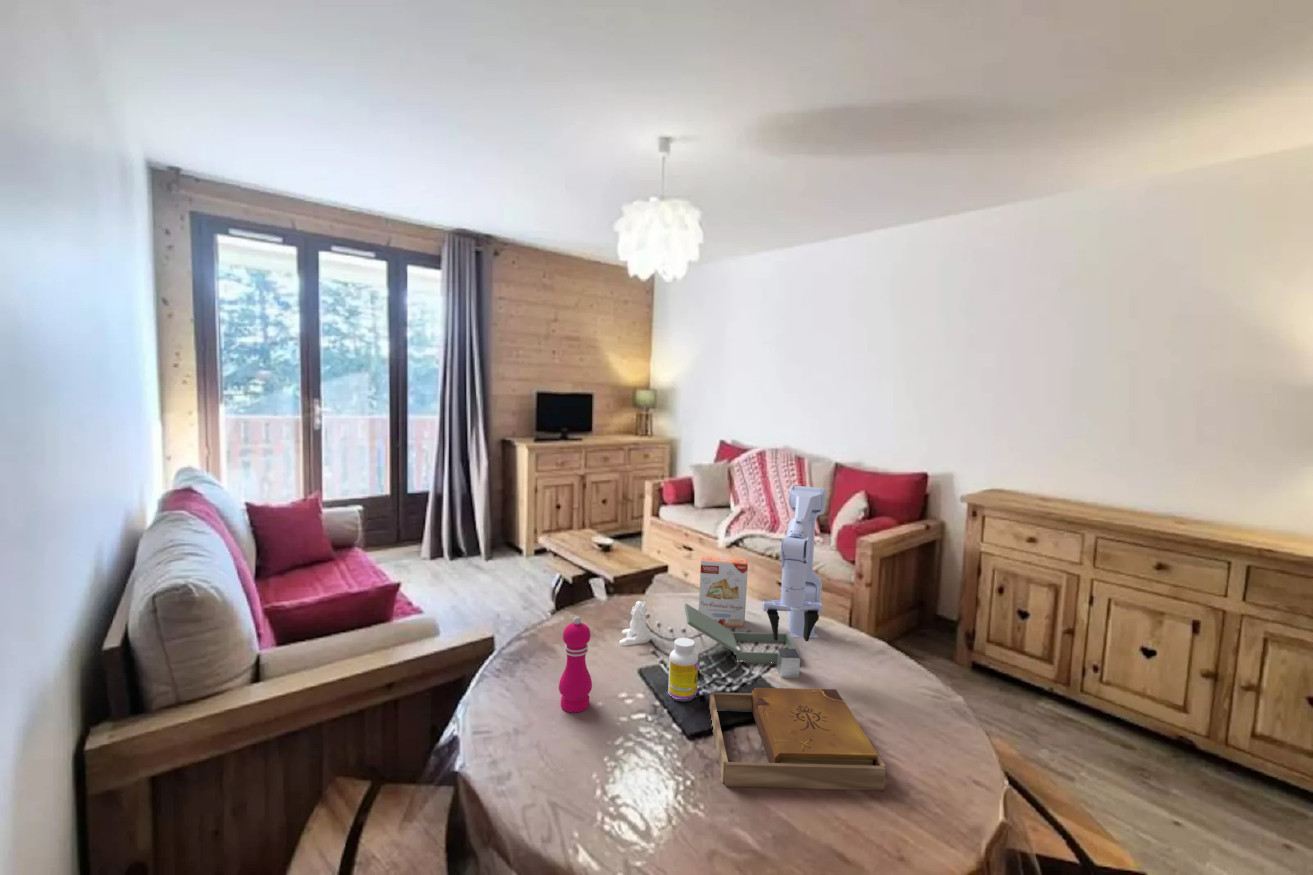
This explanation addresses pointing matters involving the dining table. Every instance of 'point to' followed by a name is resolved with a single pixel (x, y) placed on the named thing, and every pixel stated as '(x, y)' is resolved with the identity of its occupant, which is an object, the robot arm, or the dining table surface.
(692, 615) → the case
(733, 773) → the desk tray
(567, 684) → the pepper mill
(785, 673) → the block
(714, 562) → the cracker box
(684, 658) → the supplement bottle
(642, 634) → the white creature statuette
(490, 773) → the dining table surface
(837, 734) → the diary
